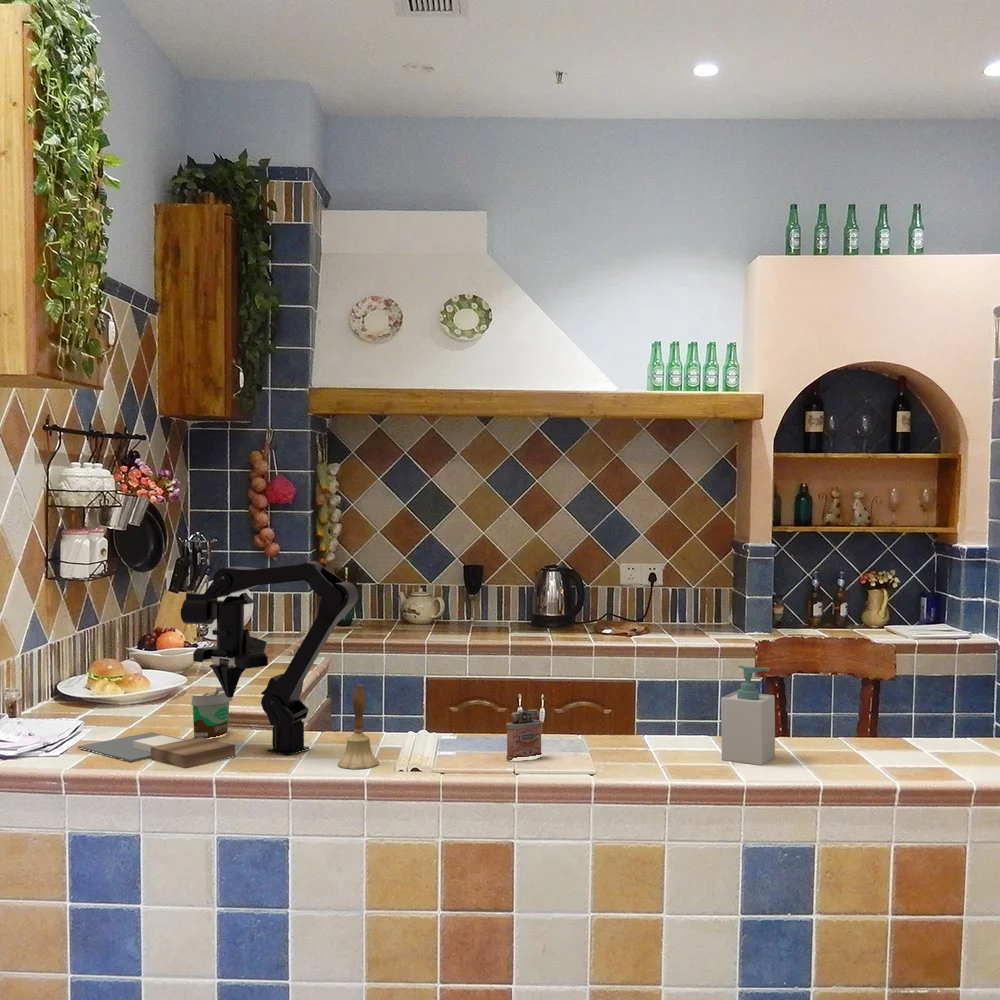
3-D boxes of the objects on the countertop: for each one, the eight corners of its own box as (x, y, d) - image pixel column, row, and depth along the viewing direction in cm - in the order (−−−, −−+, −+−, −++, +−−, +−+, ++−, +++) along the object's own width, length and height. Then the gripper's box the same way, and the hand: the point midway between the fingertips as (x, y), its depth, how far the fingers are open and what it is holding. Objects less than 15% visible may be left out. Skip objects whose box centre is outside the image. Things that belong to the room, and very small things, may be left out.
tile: (189, 748, 212) (189, 741, 212) (160, 754, 206) (160, 747, 206) (161, 742, 218) (162, 735, 218) (133, 747, 213) (133, 740, 213)
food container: (216, 742, 220) (216, 697, 220) (190, 741, 221) (191, 696, 221) (241, 731, 232) (241, 688, 232) (217, 729, 233) (217, 687, 233)
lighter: (510, 762, 202) (510, 713, 202) (503, 759, 205) (503, 710, 205) (545, 758, 205) (545, 709, 206) (537, 754, 208) (537, 707, 209)
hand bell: (339, 759, 204) (339, 682, 205) (380, 759, 205) (380, 681, 205) (335, 769, 196) (336, 688, 196) (378, 769, 197) (378, 688, 197)
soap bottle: (763, 766, 199) (763, 670, 199) (721, 760, 204) (720, 667, 204) (776, 757, 206) (775, 665, 207) (734, 752, 211) (734, 662, 211)
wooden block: (235, 756, 207) (235, 744, 207) (185, 768, 197) (186, 755, 197) (199, 748, 214) (200, 736, 214) (150, 759, 204) (150, 747, 205)
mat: (204, 746, 216) (204, 743, 216) (130, 762, 202) (130, 759, 202) (151, 734, 228) (151, 732, 228) (77, 748, 214) (77, 746, 214)
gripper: (288, 624, 215) (287, 696, 215) (233, 619, 227) (233, 687, 226) (246, 629, 207) (246, 704, 206) (192, 623, 218) (191, 694, 218)
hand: (229, 697), depth 214 cm, fingers closed
